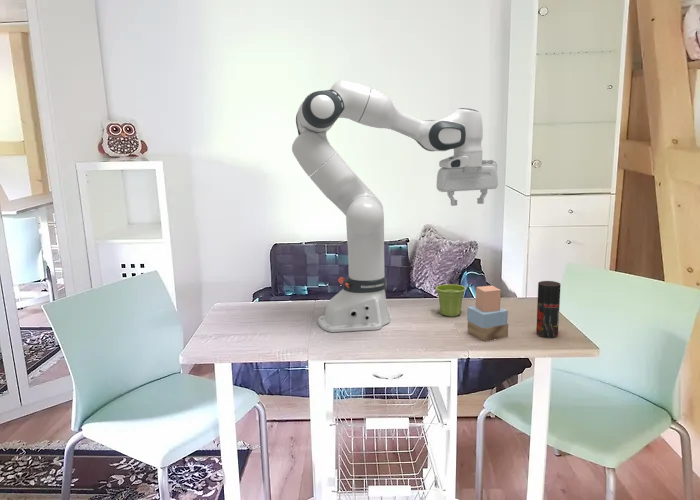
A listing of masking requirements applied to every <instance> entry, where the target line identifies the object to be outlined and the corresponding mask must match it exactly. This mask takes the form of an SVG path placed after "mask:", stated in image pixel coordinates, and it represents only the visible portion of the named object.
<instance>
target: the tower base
mask: <svg viewBox="0 0 700 500" xmlns="http://www.w3.org/2000/svg"><path fill="white" fill-rule="evenodd" d="M467 334H468V335H470V336H473V337H474V338H477V339H479V340H481V341H483V342H484V343H487V342H491V341H494V339H496V340H499V339H503V338H508V335H509V324H508V323H507V325H501V326H495V327H490V328H484V329H483V328H481V327H479V326H477V325H475V324H473V323H471V322H469V321H467ZM490 340H491V341H490ZM486 341H487V342H486Z"/></svg>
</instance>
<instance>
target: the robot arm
mask: <svg viewBox="0 0 700 500" xmlns="http://www.w3.org/2000/svg"><path fill="white" fill-rule="evenodd" d="M340 118H341V119H343V118H344V119H349V120H351V121H353V122H355V123H358V124H360V125H362V126H366V127H370V128H375V129H387V130H391V131H395V132H397V133H399V134H402V135H404V136H406V137H409V138H411V139H413V140H414V141H415V142H416V143H417V145H419V146H420V147H421V148H422V149H424V150H425V151H428V152H447V151H449V150H453V155H451V156H448V157H446V158H444V159H442V160H440V161H439V163H438V166H439V167H440V168H439V170H438V171H437V175H436V189H437V191H438V192H440V193H447V194H446V195H447V196H448V198H449V201H450V206H452V207H454V206H458V199H456V198H455V197H454V195H455V192H466V191H479V192H480V193H481V194H480V196H479V197H477V198H476V199H477V202H476V203H477V204H478V205H483V204H484V203H485V198H486V196H487V194H488V190H496V189H497V188H498V186H499V182H498V181H499V178H498V163H497V162H496V161H495V160H493V159H489V160H488V159H485V160H483V148H482V147H483V146H482V140H483V137H484V135H483V134H484V130H483V119H482V114H481V113H480V112H479V111H478V110H477V109H472V108H465V107H460V108H457V109H455V111H453V112H452V113H450V114H449V115H447V116H445V117H443V118H441V119H437V120H435V119H428V120H422V119H418V118H417V117H415V116H412V115H409V114H408V113H405V112H402V111H400V110H399V109H398V108H397V107H396V106H395V105H394V103H393V100H392V99H391V98H390V97H389V96H387V94H385V93H382V92H381V91H379V90H378V89H375V88H372V87H370V86H367V85H366V84H362V83H358V82H355V81H351V80H345V79H340V80H337V81H336V82H334V83H333V85H332V86H330V89H327V90H326V89H325V90H316V91H313V92H310V94H308V95H306V97H305V99H304V100H303V101H302V102H301V104H300V105H299V107H298V110H297V113H296V116H295V123H296V124H295V125H296V128H297V129H296V130H297V133H298V136H296V138H295V139H294V141H293V143H292V145H291V151H292V154H293V156H294V158H295V159H296V161H297V162H298V165H299V166H300V168H301V169H302V170H303V171H304V173H305V174H307V176H308V177H309V178H310V179H311V181H312V182H313V183H314V185H316V187H317V188H318V189H319V191H320V192H321V193H322V194H323V195H324V196H325V197H326V198H327V200H329V201H330V202H331V203H333V205H335V206H336V207H337V209H339V211H340V212H341V213H342V214H343V215H345V222H346V239H347V240H346V241H347V259H348V260H347V261H348V265H347V266H348V276H347V277H346V278H345V277H343V276H339V278H338V279H337V281H338V283H339V284H340V285H342V289H341V290H340V291H339V292H338V293H336V294H335V295H334V296H333V297H331V298H330V299H329V300H328V301H327V302H326V304H325V310H324V315H321V316H319V317H318V318H317V319H318V320H317V324H318V326H319V327H320V328H321V329H322V330H323V331H327V332H330V333H338V332H339V333H341V332H342V333H343V332H356V331H372V330H373V331H375V330H380V329H382V327H383V326H386V325H387V324H389V323H390V322H391V318H390V314H389V310H388V303H387V297H386V294H387V277H386V275H385V217H384V215H385V214H384V213H385V212H384V207H383V204H382V202H381V200H380V199H379V198H378V197H377V196H376V194H375V193H373V191H371V189H370V188H369V187H368V186H367V185H366V184H365V182H364V181H363V180H362V179H361V178H360V177H359V176H358V175H357V174H356V173H355V172H354V171H353V169H352V168H351V167H350V166H349V165H348V164H347V162H346V161H345V160H344V159H343V157H342V156H341V155H340V154H339V153H338V152H337V151H336V150H335V148H334V147H333V146H332V145H331V143H330V142H329V140H328V137H327V132H328V131H329V130H331V128H332V127H333V126H334V124H335V122H336V121H337V120H338V119H340Z"/></svg>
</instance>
